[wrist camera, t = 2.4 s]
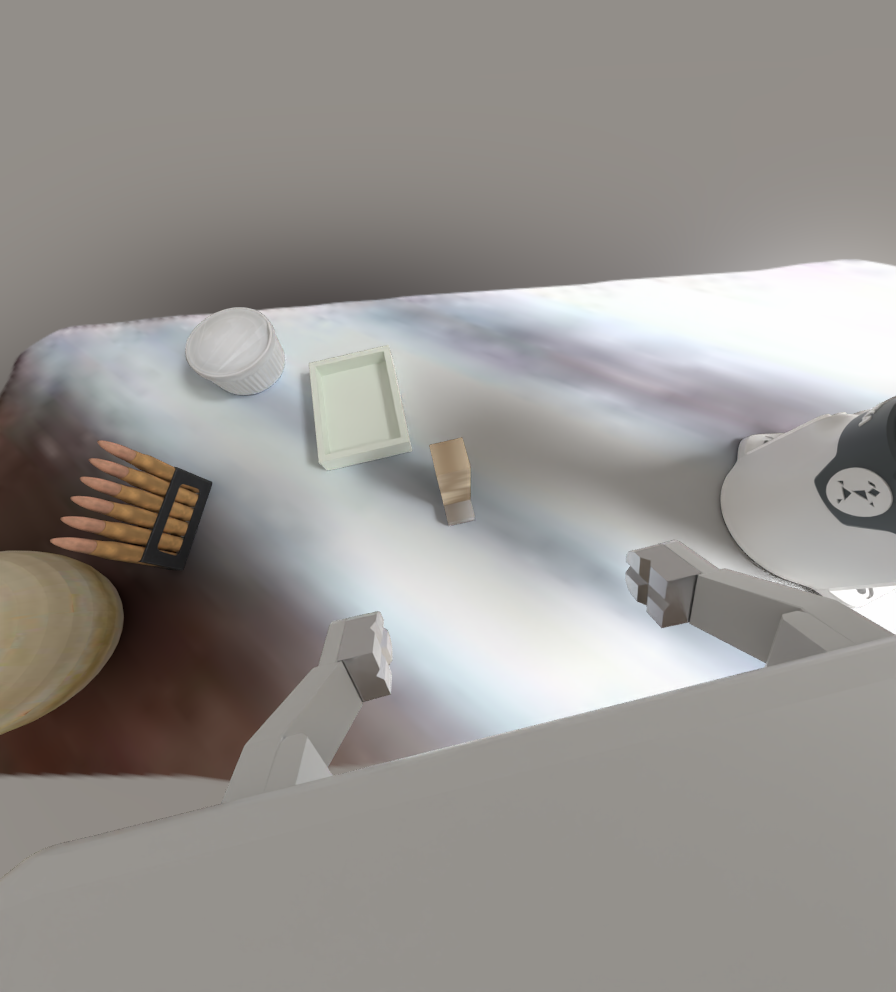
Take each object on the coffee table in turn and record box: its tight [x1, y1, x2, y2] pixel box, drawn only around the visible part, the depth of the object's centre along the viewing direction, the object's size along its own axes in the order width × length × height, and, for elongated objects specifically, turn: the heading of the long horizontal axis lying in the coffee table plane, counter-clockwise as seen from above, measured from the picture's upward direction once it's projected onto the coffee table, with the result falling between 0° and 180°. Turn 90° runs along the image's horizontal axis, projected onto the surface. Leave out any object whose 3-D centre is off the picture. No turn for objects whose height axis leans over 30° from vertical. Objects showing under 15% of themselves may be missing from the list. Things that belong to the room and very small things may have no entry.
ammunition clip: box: [50, 441, 212, 570], centre depth 33 cm, size 11×2×12 cm, turn 176°
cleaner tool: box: [429, 437, 475, 526], centre depth 33 cm, size 3×7×10 cm, turn 13°
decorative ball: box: [0, 551, 124, 735], centre depth 28 cm, size 15×15×15 cm
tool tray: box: [309, 345, 412, 471], centre depth 41 cm, size 11×15×2 cm
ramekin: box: [185, 307, 285, 395], centre depth 43 cm, size 11×11×5 cm
